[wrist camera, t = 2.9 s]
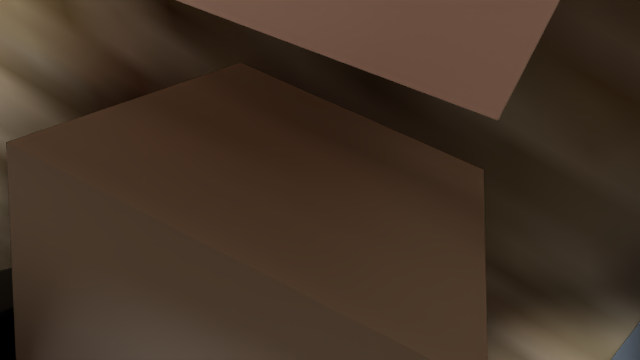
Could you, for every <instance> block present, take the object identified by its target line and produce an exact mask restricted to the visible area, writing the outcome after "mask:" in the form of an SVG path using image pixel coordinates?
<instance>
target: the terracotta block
mask: <svg viewBox="0 0 640 360" xmlns="http://www.w3.org/2000/svg"><path fill="white" fill-rule="evenodd" d="M176 1H179V2H182V3H184V4H187V5H190V6H193V7H195V8H198V9H201V10H203V11H206V12H209V13H211V14H214V15H217V16H219V17H222V18H225V19H227V20H230V21H233V22H235V23H238V24H241V25H243V26H246V27H249V28H252V29H254V30H257V31H260V32H262V33H265V34H268V35H270V36H273V37H276V38H278V39H281V40H284V41H286V42H289V43H292V44H294V45H297V46H300V47H302V48H305V49H308V50H310V51H313V52H316V53H319V54H321V55H324V56H327V57H329V58H332V59H335V60H337V61H340V62H343V63H345V64H348V65H351V66H353V67H356V68H359V69H361V70H364V71H367V72H369V73H372V74H375V75H378V76H380V77H383V78H386V79H388V80H391V81H394V82H396V83H399V84H402V85H404V86H407V87H410V88H412V89H415V90H418V91H420V92H423V93H426V94H428V95H431V96H434V97H437V98H439V99H442V100H445V101H447V102H450V103H453V104H455V105H458V106H461V107H463V108H466V109H469V110H471V111H474V112H477V113H479V114H482V115H485V116H487V117H490V118H493V119H495V120H498V119H499V117H500V115H501V114H502V112H503V110H504V108H505V106H506V104H507V102H508V100H509V98H510V96H511V94H512V92H513V90H514V88H515V86H516V84H517V82H518V81H519V79H520V77H521V75H522V73H523V71H524V69H525V67H526V65H527V63H528V61H529V59H530V57H531V55H532V53H533V51H534V49H535V48H536V46H537V44H538V42H539V40H540V38H541V36H542V34H543V32H544V30H545V28H546V26H547V24H548V22H549V20H550V18H551V16H552V15H553V13H554V11H555V9H556V7H557V5H558V3H559V1H560V0H176Z"/></svg>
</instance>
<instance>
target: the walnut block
mask: <svg viewBox="0 0 640 360" xmlns="http://www.w3.org/2000/svg"><path fill="white" fill-rule="evenodd" d="M6 150H7V172H8V194H9V216H10V238H11V260H12V283H13V305H14V327H15V349H16V360H488V356H487V307H486V259H485V210H484V170H483V169H481V168H478V167H476V166H474V165H472V164H469V163H467V162H465V161H463V160H460V159H458V158H456V157H453V156H451V155H449V154H447V153H444V152H442V151H440V150H438V149H435V148H433V147H431V146H428V145H426V144H424V143H422V142H419V141H417V140H415V139H413V138H410V137H408V136H406V135H403V134H401V133H399V132H397V131H394V130H392V129H390V128H388V127H385V126H383V125H381V124H378V123H376V122H374V121H372V120H369V119H367V118H365V117H363V116H360V115H358V114H356V113H353V112H351V111H349V110H347V109H344V108H342V107H340V106H338V105H335V104H333V103H331V102H328V101H326V100H324V99H322V98H319V97H317V96H315V95H313V94H310V93H308V92H306V91H304V90H301V89H299V88H297V87H294V86H292V85H290V84H288V83H285V82H283V81H281V80H279V79H276V78H274V77H272V76H269V75H267V74H265V73H263V72H260V71H258V70H256V69H254V68H251V67H249V66H247V65H244V64H242V63H238V64H235V65H232V66H229V67H226V68H223V69H220V70H217V71H214V72H212V73H209V74H206V75H203V76H200V77H197V78H194V79H191V80H188V81H185V82H182V83H179V84H176V85H173V86H170V87H168V88H165V89H162V90H159V91H156V92H153V93H150V94H147V95H144V96H141V97H138V98H135V99H132V100H129V101H126V102H123V103H121V104H118V105H115V106H112V107H109V108H106V109H103V110H100V111H97V112H94V113H91V114H88V115H85V116H82V117H79V118H76V119H74V120H71V121H68V122H65V123H62V124H59V125H56V126H53V127H50V128H47V129H44V130H41V131H38V132H35V133H32V134H29V135H27V136H24V137H21V138H18V139H15V140H12V141H9V142H6Z"/></svg>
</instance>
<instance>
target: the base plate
mask: <svg viewBox="0 0 640 360" xmlns="http://www.w3.org/2000/svg"><path fill="white" fill-rule="evenodd" d="M611 360H640V322H639V324H638V325H637V326H636V328H635V329H634V330H633V332H632V333H631V334H630V335H629V337H628V338H627V339H626V341H625V342H624V343H623V345H622V346H621V347H620V349H619V350H618V351H617V353H616V354H615V355H614V356H613V358H612V359H611Z"/></svg>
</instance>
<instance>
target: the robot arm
mask: <svg viewBox="0 0 640 360" xmlns="http://www.w3.org/2000/svg"><path fill="white" fill-rule="evenodd" d="M0 360H16V349H15V327H14V305H13V283H12V268H8V269H4V270H1V271H0Z"/></svg>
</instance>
